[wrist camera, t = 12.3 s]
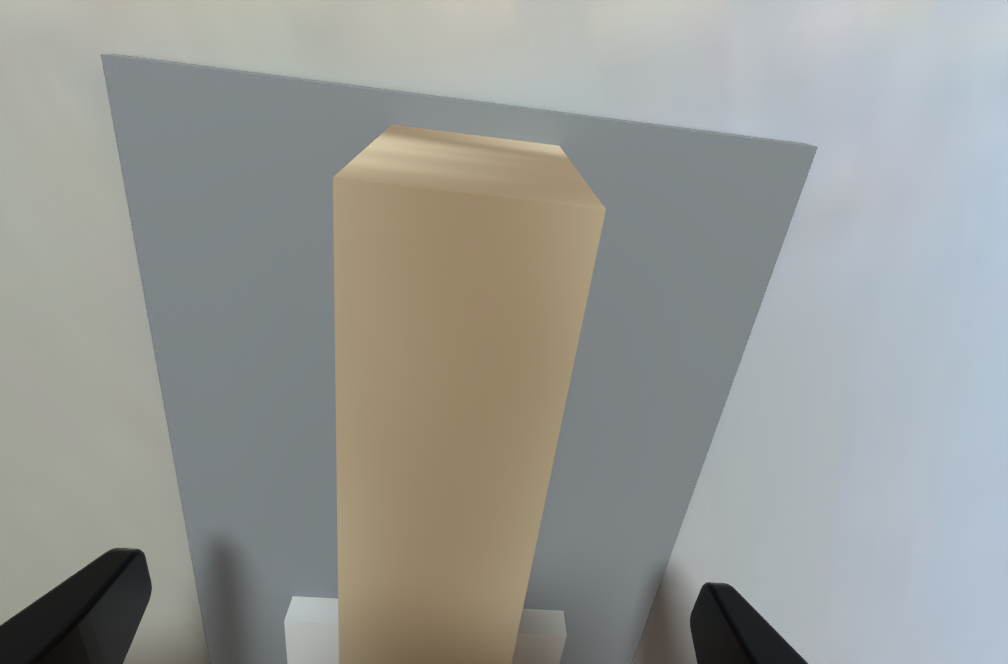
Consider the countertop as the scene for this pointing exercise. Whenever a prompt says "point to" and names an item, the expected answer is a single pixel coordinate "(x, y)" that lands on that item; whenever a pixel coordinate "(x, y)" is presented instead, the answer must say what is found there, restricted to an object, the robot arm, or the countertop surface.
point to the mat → (311, 331)
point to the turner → (448, 395)
